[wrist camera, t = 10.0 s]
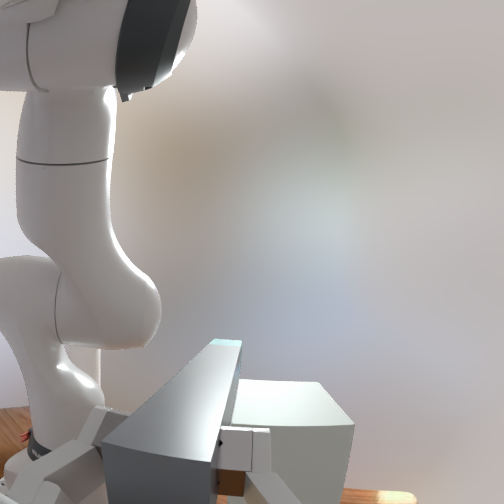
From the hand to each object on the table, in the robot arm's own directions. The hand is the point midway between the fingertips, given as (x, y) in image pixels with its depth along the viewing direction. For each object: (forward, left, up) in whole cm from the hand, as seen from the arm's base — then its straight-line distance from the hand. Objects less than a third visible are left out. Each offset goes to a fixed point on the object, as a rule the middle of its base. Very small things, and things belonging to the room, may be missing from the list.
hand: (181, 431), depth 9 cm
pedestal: (+6, +23, -31) cm, 39 cm away
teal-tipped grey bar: (0, +8, -2) cm, 8 cm away
